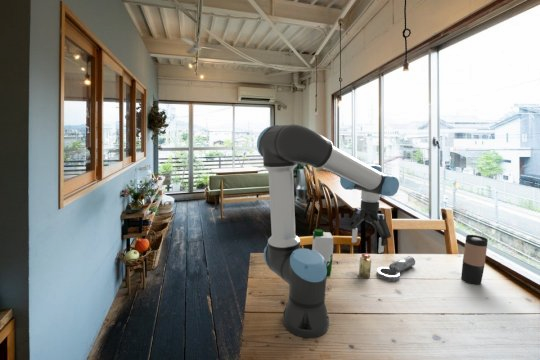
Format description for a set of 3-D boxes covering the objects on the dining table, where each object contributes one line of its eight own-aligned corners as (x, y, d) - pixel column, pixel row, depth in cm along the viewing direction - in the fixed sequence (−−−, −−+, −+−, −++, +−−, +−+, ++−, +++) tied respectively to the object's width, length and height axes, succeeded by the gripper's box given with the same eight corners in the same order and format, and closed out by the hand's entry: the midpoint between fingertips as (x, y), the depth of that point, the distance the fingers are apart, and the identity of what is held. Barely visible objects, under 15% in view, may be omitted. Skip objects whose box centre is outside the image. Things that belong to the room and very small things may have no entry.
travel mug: (474, 277, 125) (480, 235, 122) (486, 286, 117) (492, 241, 114) (456, 276, 126) (462, 234, 123) (466, 285, 118) (472, 240, 115)
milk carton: (310, 267, 131) (312, 227, 128) (329, 268, 131) (331, 227, 128) (312, 276, 122) (314, 233, 119) (333, 277, 122) (335, 234, 119)
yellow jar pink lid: (365, 279, 121) (367, 258, 119) (356, 275, 125) (358, 254, 123) (372, 276, 124) (373, 255, 122) (363, 272, 127) (364, 252, 126)
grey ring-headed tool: (391, 283, 118) (392, 273, 117) (372, 274, 125) (373, 264, 125) (419, 269, 132) (420, 260, 131) (401, 262, 139) (402, 253, 138)
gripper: (402, 205, 111) (398, 254, 114) (352, 194, 131) (349, 237, 134) (392, 207, 107) (388, 259, 110) (341, 196, 127) (339, 240, 130)
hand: (366, 247), depth 122 cm, fingers open, 13 cm apart
